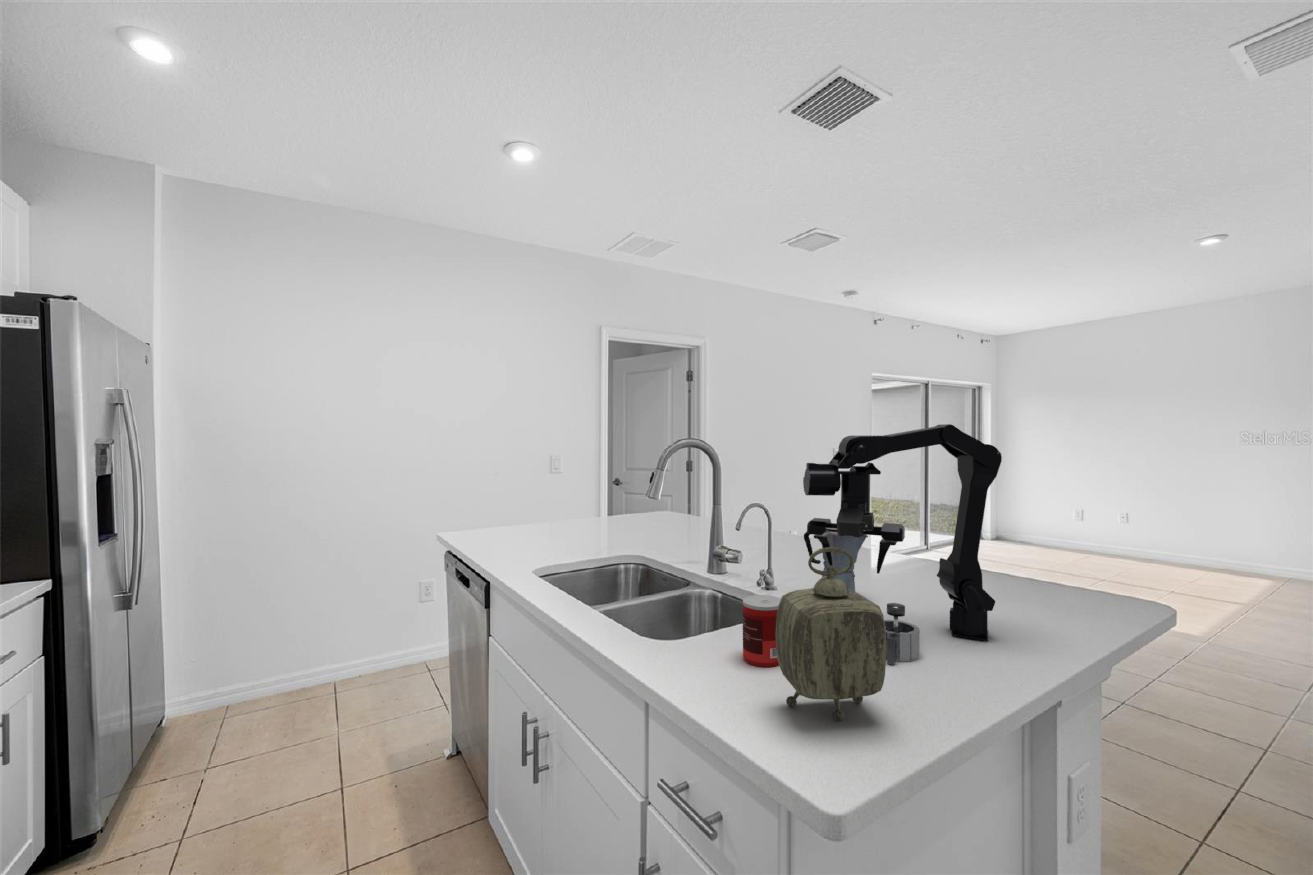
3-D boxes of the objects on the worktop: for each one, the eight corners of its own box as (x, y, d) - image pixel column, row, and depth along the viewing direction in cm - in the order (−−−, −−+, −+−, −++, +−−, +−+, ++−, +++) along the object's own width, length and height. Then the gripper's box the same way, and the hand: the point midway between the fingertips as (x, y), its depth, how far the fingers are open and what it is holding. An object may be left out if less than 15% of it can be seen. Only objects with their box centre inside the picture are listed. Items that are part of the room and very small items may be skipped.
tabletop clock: (863, 697, 93) (863, 540, 92) (893, 725, 84) (893, 552, 83) (775, 703, 91) (775, 543, 91) (796, 732, 82) (795, 556, 82)
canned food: (787, 654, 111) (786, 596, 111) (781, 670, 103) (781, 608, 103) (747, 649, 113) (746, 593, 113) (739, 665, 106) (738, 604, 106)
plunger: (911, 647, 112) (910, 604, 112) (907, 656, 108) (907, 610, 107) (884, 643, 114) (884, 600, 114) (880, 651, 110) (880, 607, 110)
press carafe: (921, 649, 112) (921, 624, 112) (915, 669, 103) (915, 641, 103) (877, 642, 116) (876, 617, 116) (867, 661, 107) (867, 633, 107)
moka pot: (871, 607, 140) (871, 524, 139) (804, 603, 143) (804, 522, 142) (865, 595, 149) (865, 518, 149) (803, 592, 152) (802, 516, 152)
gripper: (801, 497, 118) (800, 573, 118) (900, 502, 109) (899, 585, 110) (813, 492, 128) (812, 562, 128) (905, 496, 119) (904, 572, 120)
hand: (854, 570), depth 121 cm, fingers open, 9 cm apart
